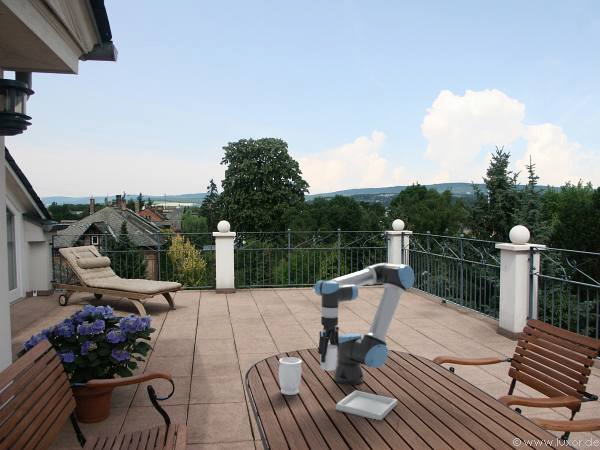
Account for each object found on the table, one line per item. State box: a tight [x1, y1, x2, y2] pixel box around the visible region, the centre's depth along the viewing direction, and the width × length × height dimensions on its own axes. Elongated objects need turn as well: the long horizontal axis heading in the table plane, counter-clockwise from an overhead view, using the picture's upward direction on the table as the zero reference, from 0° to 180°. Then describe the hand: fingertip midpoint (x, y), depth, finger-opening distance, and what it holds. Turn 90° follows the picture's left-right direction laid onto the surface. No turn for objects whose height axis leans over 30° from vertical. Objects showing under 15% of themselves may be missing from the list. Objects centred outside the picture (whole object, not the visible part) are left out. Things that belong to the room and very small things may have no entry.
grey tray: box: [335, 389, 398, 422], centre depth 205 cm, size 20×20×2 cm
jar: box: [278, 356, 302, 396], centre depth 221 cm, size 11×10×15 cm
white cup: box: [319, 343, 338, 372], centre depth 212 cm, size 8×8×10 cm
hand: (328, 366), depth 212 cm, fingers closed on white cup, 8 cm apart
